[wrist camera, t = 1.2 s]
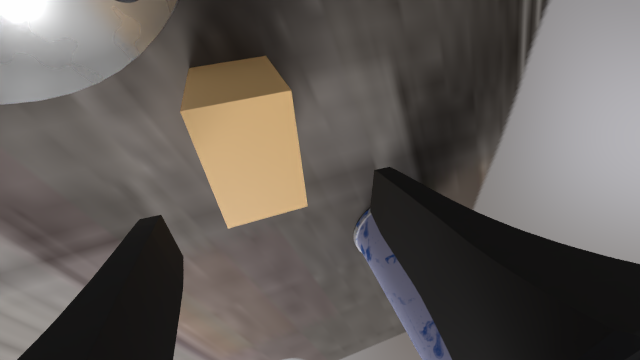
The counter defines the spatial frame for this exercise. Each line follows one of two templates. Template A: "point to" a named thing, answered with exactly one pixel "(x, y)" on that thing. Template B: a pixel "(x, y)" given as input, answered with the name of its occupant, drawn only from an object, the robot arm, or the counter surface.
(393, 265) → the aerosol can
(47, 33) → the gray round plate
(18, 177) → the counter surface
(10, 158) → the counter surface
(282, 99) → the tan rectangular block
